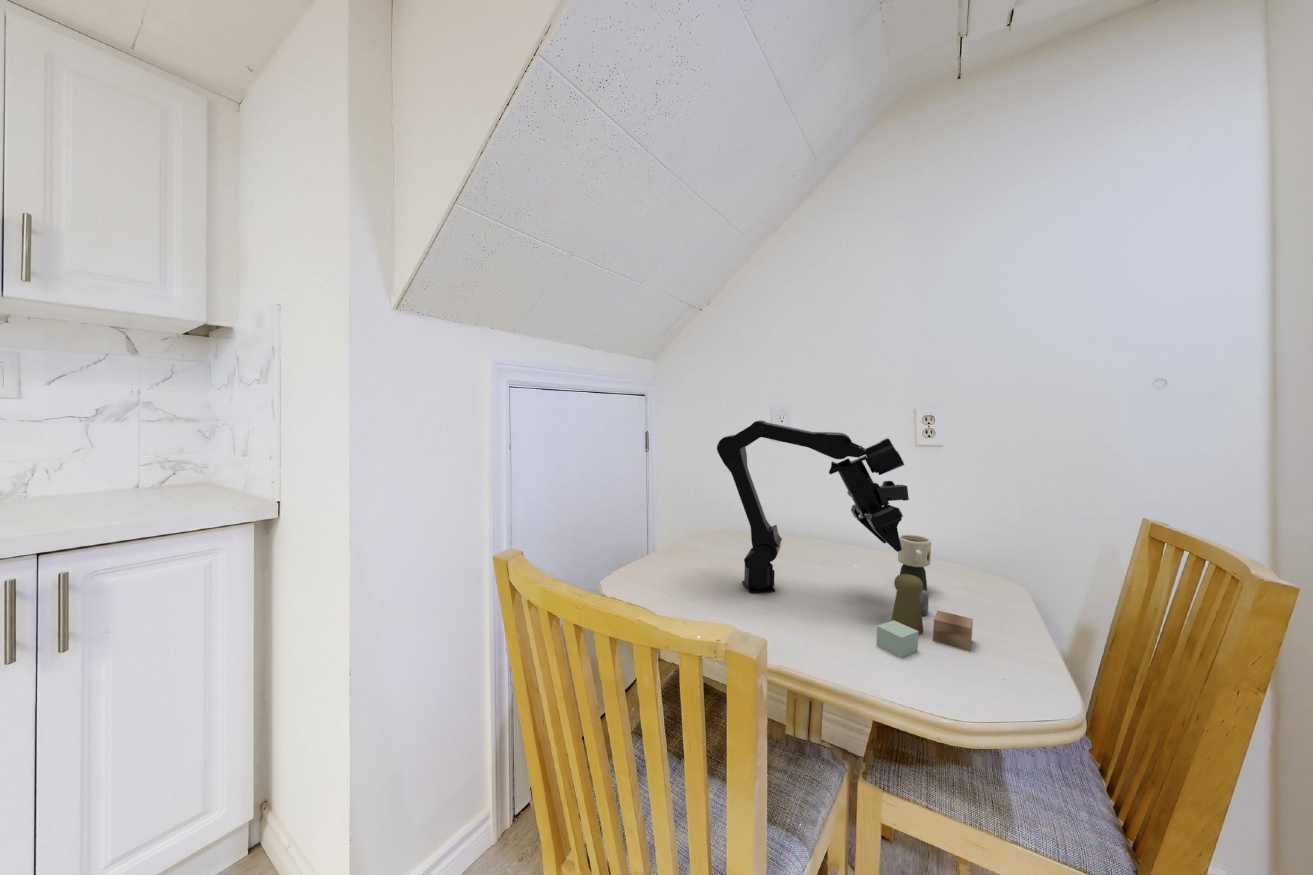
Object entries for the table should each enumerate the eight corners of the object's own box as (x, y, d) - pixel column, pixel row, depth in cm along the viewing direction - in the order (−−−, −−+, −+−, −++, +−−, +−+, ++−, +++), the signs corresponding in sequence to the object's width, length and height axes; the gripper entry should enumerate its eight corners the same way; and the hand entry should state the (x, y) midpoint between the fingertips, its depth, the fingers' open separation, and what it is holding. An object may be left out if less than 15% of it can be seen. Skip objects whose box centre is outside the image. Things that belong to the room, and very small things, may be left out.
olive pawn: (928, 636, 92) (930, 583, 91) (895, 633, 93) (897, 580, 92) (917, 622, 98) (919, 572, 97) (886, 619, 99) (888, 569, 98)
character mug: (934, 599, 109) (937, 546, 108) (901, 596, 111) (903, 543, 110) (922, 582, 119) (924, 533, 118) (892, 579, 121) (894, 531, 120)
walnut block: (932, 641, 90) (933, 619, 90) (936, 631, 94) (937, 610, 94) (969, 651, 87) (970, 628, 86) (971, 640, 90) (972, 618, 90)
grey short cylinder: (912, 616, 100) (913, 596, 100) (897, 606, 105) (898, 587, 105) (933, 615, 101) (934, 595, 101) (917, 605, 106) (918, 586, 106)
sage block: (900, 658, 84) (901, 637, 84) (876, 645, 88) (877, 625, 88) (917, 651, 86) (918, 631, 86) (892, 639, 91) (893, 620, 90)
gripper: (907, 469, 95) (945, 539, 93) (880, 467, 113) (911, 525, 112) (856, 492, 96) (892, 561, 95) (837, 486, 115) (868, 544, 113)
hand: (892, 546), depth 104 cm, fingers open, 9 cm apart
